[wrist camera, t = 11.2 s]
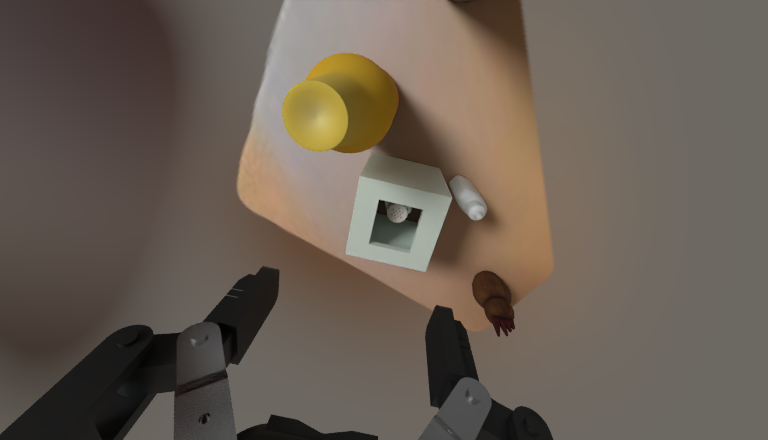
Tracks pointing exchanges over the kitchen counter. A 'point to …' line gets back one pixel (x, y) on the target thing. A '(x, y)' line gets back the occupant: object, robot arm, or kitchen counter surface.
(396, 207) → the salt shaker
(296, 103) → the beer bottle
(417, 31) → the kitchen counter surface
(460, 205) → the eye dropper bottle
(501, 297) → the wooden figurine
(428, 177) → the tissue box
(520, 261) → the kitchen counter surface
